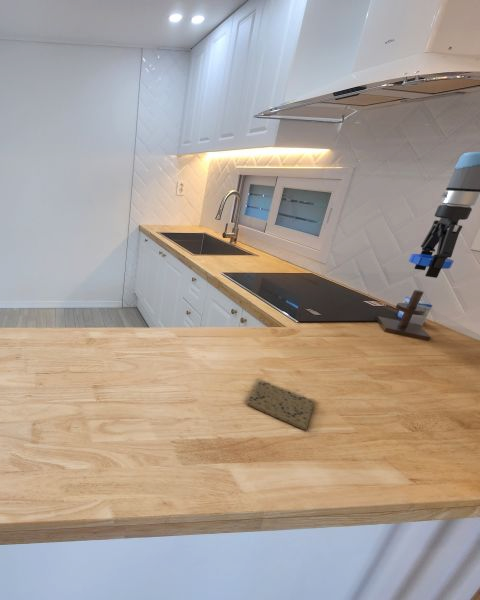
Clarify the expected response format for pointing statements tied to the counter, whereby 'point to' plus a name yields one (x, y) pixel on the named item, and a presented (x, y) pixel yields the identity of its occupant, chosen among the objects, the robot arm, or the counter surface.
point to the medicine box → (417, 318)
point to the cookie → (282, 404)
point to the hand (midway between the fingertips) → (424, 273)
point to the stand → (406, 319)
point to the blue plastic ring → (428, 260)
